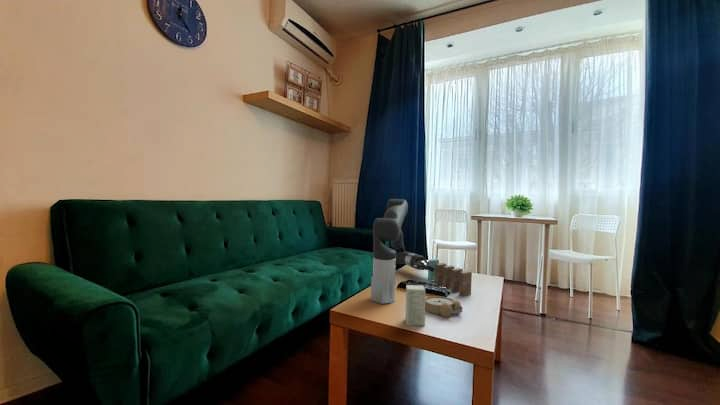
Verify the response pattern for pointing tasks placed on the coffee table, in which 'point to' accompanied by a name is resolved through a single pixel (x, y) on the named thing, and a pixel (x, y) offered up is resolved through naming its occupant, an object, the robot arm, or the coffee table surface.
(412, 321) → the skincare box
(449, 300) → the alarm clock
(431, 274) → the teal domino
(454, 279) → the domino
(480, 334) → the coffee table surface
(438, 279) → the domino
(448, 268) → the domino
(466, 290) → the domino
